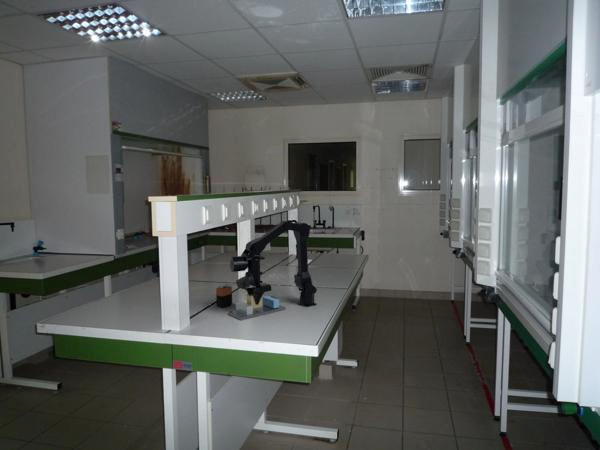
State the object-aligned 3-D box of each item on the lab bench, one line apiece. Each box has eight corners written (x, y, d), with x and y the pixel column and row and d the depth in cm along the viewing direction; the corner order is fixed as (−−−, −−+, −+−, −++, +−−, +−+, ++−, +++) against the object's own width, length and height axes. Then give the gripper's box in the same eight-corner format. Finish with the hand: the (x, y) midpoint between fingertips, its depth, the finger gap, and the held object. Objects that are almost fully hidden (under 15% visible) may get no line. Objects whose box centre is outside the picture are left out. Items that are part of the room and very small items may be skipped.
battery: (216, 306, 198) (215, 286, 198) (226, 303, 204) (225, 283, 203) (222, 308, 196) (222, 287, 195) (232, 304, 202) (232, 284, 201)
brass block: (257, 305, 191) (257, 292, 191) (262, 306, 189) (262, 293, 188) (246, 307, 188) (246, 294, 187) (251, 309, 185) (250, 296, 184)
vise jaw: (270, 302, 199) (270, 294, 199) (281, 306, 193) (281, 298, 192) (262, 304, 197) (262, 296, 196) (273, 308, 190) (273, 299, 189)
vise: (271, 304, 201) (271, 294, 201) (285, 309, 193) (285, 298, 193) (228, 314, 186) (227, 303, 185) (241, 320, 178) (241, 308, 177)
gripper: (227, 269, 189) (228, 302, 190) (250, 275, 174) (251, 311, 176) (248, 266, 196) (248, 298, 197) (271, 271, 182) (272, 306, 183)
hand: (254, 303), depth 188 cm, fingers closed on brass block, 3 cm apart
